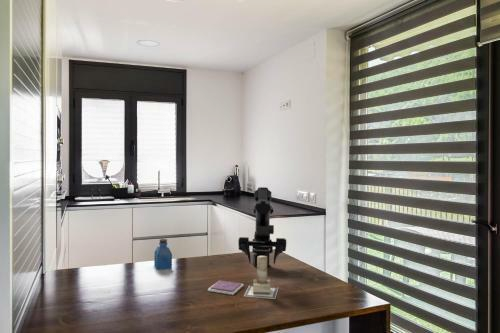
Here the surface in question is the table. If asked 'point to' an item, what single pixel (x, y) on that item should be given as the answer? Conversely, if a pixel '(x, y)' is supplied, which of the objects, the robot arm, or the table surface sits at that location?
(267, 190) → the robot arm
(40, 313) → the table surface
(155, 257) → the perfume bottle
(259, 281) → the stamp
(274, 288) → the marked card
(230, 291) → the ink pad
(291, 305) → the table surface
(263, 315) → the table surface
